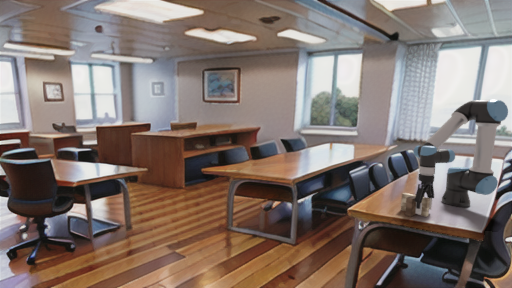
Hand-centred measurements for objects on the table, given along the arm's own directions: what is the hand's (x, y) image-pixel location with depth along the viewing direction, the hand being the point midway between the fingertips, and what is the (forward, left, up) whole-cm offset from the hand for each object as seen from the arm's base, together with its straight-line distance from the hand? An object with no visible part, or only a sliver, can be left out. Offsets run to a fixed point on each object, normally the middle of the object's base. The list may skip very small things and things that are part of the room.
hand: (423, 211), depth 168 cm
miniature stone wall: (0, -5, -2) cm, 5 cm away
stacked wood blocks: (0, -5, -2) cm, 5 cm away
